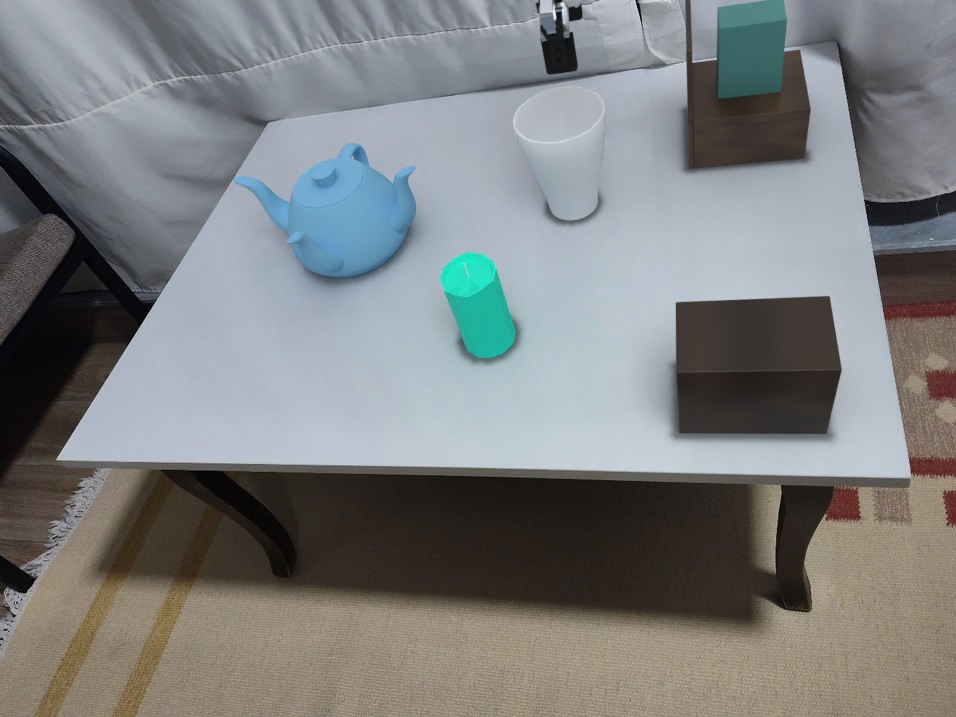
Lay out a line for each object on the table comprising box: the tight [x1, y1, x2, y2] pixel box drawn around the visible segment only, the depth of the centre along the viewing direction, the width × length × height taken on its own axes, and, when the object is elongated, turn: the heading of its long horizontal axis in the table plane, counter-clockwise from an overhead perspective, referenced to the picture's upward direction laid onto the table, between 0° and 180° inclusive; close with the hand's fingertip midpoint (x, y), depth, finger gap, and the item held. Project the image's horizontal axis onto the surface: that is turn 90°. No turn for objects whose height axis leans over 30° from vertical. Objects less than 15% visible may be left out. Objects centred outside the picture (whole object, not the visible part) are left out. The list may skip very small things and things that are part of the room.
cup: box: [512, 85, 607, 221], centre depth 90 cm, size 10×10×14 cm
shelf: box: [684, 0, 812, 169], centre depth 90 cm, size 13×12×16 cm
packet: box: [716, 0, 788, 99], centre depth 87 cm, size 7×4×9 cm, turn 81°
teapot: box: [233, 142, 417, 278], centre depth 96 cm, size 17×19×12 cm
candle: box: [439, 251, 517, 359], centre depth 80 cm, size 6×6×12 cm
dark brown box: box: [675, 295, 843, 435], centre depth 69 cm, size 13×8×10 cm, turn 81°
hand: (565, 45), depth 80 cm, fingers open, 9 cm apart
